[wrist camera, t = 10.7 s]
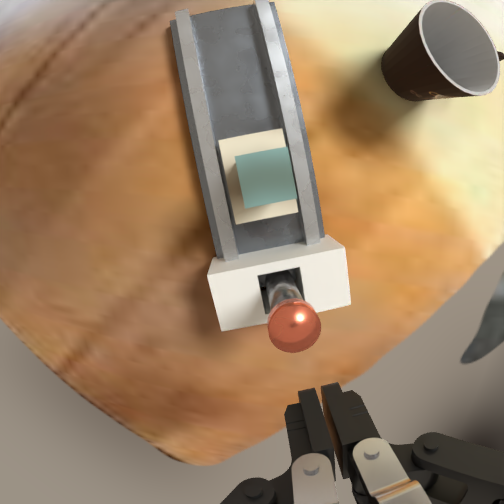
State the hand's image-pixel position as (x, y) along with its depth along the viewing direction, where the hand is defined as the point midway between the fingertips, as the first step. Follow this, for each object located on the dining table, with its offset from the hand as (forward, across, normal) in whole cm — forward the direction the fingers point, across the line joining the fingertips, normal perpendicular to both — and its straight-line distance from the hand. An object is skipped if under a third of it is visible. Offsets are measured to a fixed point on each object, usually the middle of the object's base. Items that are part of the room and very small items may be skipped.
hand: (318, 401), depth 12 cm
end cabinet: (+19, 0, 0) cm, 19 cm away
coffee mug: (+19, -19, -17) cm, 32 cm away
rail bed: (+19, 0, -12) cm, 23 cm away
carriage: (+18, 0, -9) cm, 20 cm away
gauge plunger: (+16, 0, 0) cm, 16 cm away
